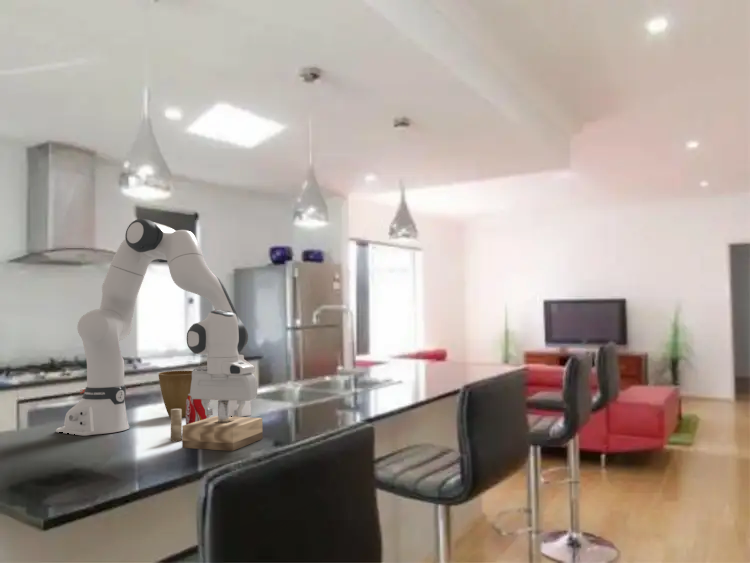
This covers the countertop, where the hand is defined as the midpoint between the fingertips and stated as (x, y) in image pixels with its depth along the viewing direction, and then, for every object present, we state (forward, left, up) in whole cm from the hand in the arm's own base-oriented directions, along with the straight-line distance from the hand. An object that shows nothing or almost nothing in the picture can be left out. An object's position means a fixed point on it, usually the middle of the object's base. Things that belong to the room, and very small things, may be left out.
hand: (223, 415), depth 171 cm
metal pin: (0, 0, -6) cm, 6 cm away
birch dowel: (-16, 0, -8) cm, 18 cm away
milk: (-21, +43, -8) cm, 49 cm away
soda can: (-17, +12, -8) cm, 22 cm away
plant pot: (-42, +37, -8) cm, 57 cm away
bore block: (0, 0, -8) cm, 8 cm away
